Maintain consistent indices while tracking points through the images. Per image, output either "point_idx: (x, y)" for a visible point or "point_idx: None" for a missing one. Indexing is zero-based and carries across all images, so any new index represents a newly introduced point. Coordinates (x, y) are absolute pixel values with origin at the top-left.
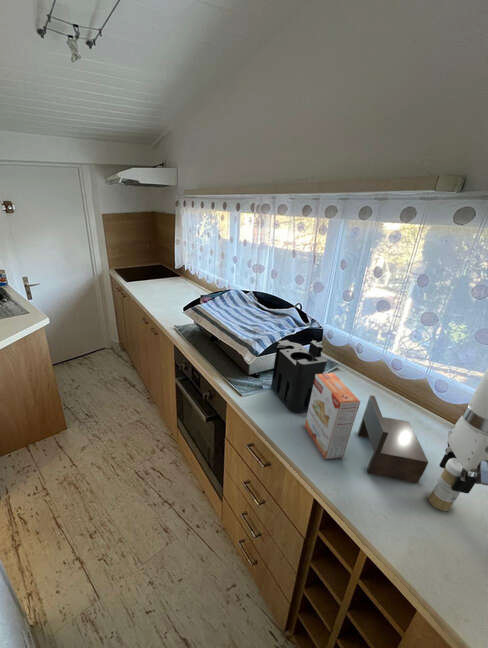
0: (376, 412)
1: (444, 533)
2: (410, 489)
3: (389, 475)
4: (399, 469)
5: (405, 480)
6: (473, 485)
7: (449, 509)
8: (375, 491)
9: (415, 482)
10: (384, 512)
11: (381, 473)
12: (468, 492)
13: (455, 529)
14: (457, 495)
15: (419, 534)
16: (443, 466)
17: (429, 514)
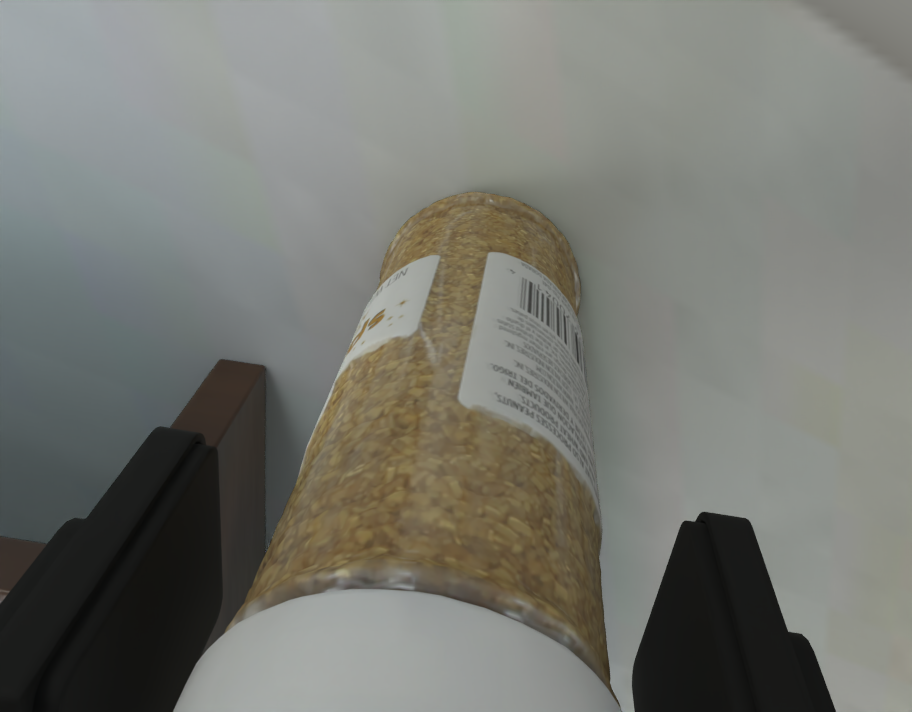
0: None
1: (819, 400)
2: None
3: None
4: (220, 628)
5: (263, 464)
6: (805, 697)
7: (567, 244)
8: None
9: (262, 391)
10: (631, 706)
11: None
12: (748, 535)
13: (781, 283)
14: (580, 377)
15: (819, 579)
16: (206, 616)
17: (624, 426)
